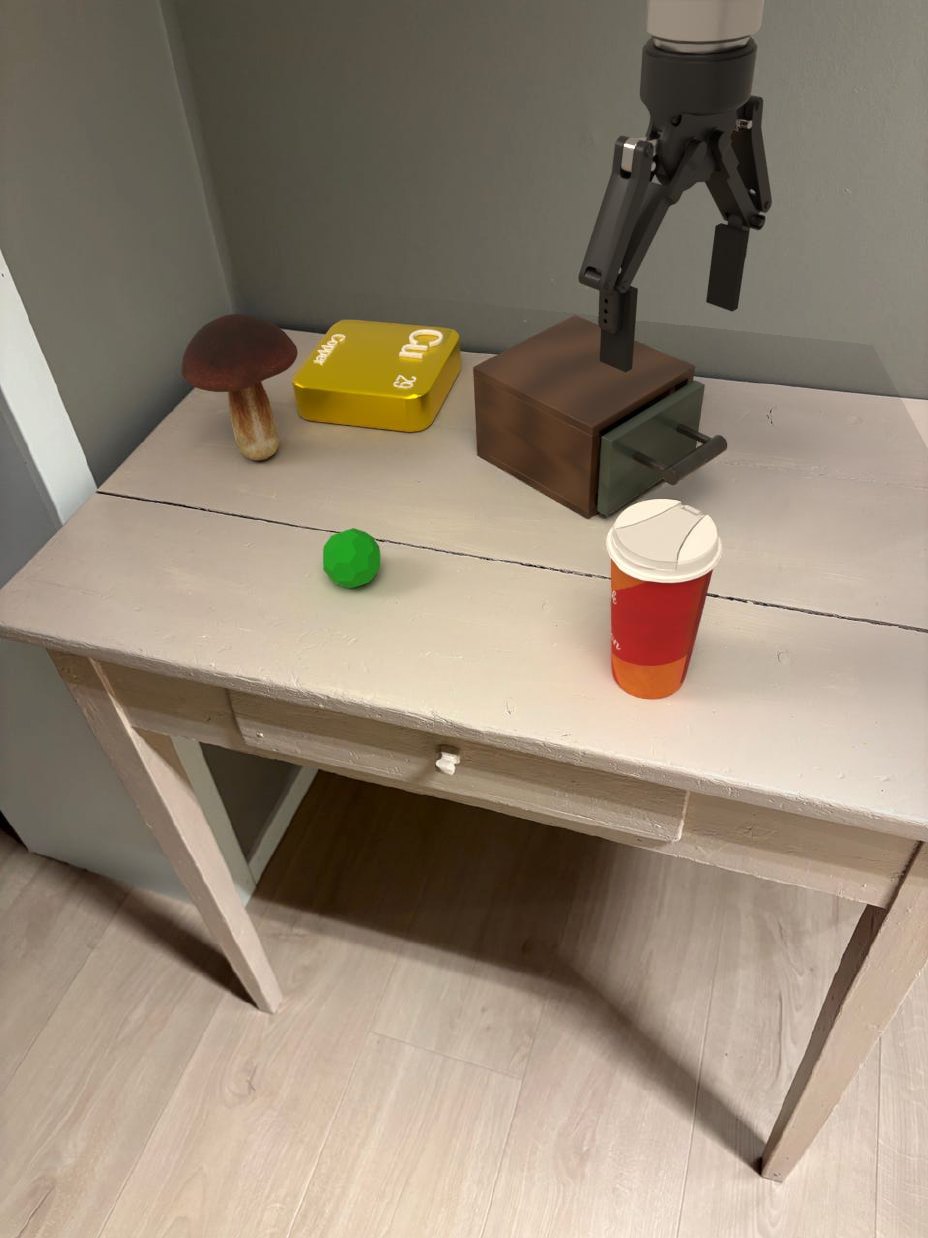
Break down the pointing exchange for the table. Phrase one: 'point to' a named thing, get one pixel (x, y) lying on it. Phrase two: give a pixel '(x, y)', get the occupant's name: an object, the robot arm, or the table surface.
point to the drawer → (653, 447)
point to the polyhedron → (351, 558)
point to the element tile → (378, 375)
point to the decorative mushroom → (241, 374)
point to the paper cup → (658, 592)
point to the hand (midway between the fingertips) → (670, 334)
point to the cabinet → (562, 406)
